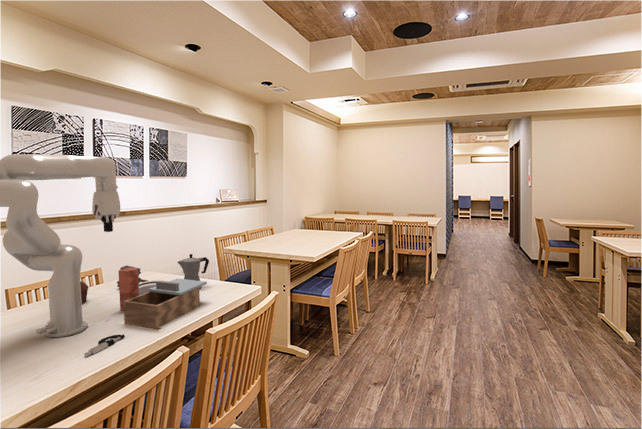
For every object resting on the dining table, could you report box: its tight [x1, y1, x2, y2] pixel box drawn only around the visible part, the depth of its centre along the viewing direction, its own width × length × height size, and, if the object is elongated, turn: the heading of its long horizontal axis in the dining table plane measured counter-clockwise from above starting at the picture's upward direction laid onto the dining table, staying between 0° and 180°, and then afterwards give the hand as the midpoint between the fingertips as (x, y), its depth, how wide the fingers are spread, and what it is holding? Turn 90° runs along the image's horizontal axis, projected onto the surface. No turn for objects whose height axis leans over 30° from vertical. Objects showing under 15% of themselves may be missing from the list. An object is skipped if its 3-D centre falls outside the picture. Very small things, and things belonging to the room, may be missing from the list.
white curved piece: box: [139, 279, 170, 295], centre depth 165 cm, size 17×5×10 cm, turn 114°
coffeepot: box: [177, 253, 210, 291], centre depth 181 cm, size 15×9×18 cm, turn 121°
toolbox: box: [123, 288, 201, 331], centre depth 144 cm, size 24×16×9 cm, turn 161°
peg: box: [118, 267, 139, 312], centre depth 148 cm, size 5×5×18 cm
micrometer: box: [83, 334, 125, 358], centre depth 118 cm, size 15×7×3 cm, turn 164°
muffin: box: [80, 280, 89, 305], centre depth 159 cm, size 12×11×10 cm
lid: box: [148, 278, 208, 295], centre depth 152 cm, size 17×16×4 cm
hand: (108, 231), depth 152 cm, fingers closed
